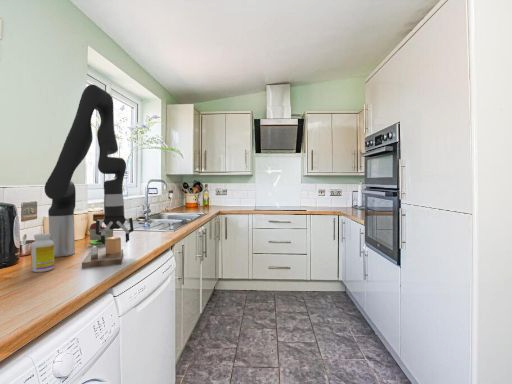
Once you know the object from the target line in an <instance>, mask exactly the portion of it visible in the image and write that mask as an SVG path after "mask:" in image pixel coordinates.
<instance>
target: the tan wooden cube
mask: <svg viewBox="0 0 512 384" xmlns="http://www.w3.org/2000/svg"><path fill="white" fill-rule="evenodd" d="M121 249H122V238H121V236H113V237H109V238H106V241H105V251H106V254H116V253H120V252H121Z"/></svg>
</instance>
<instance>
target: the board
mask: <svg viewBox="0 0 512 384" xmlns="http://www.w3.org/2000/svg"><path fill="white" fill-rule="evenodd" d="M123 257H124V249H123V248H121V252H120V253H116V254H106V250H100V251H99V250H98V259H91V251H89V252H88V253H87V255H86V256H85V257H84V259H83V261H82V262H81V268H82V269H86V268H87V269H88V268H89V269H90V268H98V267H107V266H116V265H122V263H123V262H122V261H123Z"/></svg>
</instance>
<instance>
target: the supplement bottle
mask: <svg viewBox="0 0 512 384" xmlns="http://www.w3.org/2000/svg"><path fill="white" fill-rule="evenodd" d="M33 238H34V241H33V242H32V243H31V245H30V253H31V254H30V257H31V271H32V272H33V273H44V272H47V271H48V272H49V271H51V270H53V269H55V265H56V264H55V257H54V242H53V241H51V240H50V233H49V232H48V233H45V232H44V233H36V234H34V235H33Z"/></svg>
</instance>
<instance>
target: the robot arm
mask: <svg viewBox="0 0 512 384" xmlns="http://www.w3.org/2000/svg"><path fill="white" fill-rule="evenodd" d="M113 99H114V98H113V96H112V94H110V93H109V92H107V91H106V90H105V89H103V88H101V87H99V86H98V85H96V84H88V86H86V87H85V88H84V89H83V92H82V93H81V96H80V100H79V102H78V107H77V111H76V113H75V115H74V116H75V117H74V119H73V122H72V124H71V127H70V129H69V132H68V134H67V136H66V138H65V141H64V143H63V146H62V149H61V151H60V154H59V156H58V159H57V162H56V163H55V166H54V168H53V170H52V172H51V173H50V175H49V177H48V179H47V180H46V182H45V184H44V193H45V196H46V197H48V198H49V199H51V205H50V207H49V208H48V211H47V212H48V213H47V214H48V233H50V240H51V241H53V242H54V258H58V257H67V256H72V255H73V254H75V252H76V246H75V244H76V243H75V240H76V239H75V209H76V197H77V196H76V186H75V183H74V182H73V181H72V178H73V175H74V173H75V171H76V169H77V168H78V166H79V165H80V164H81V163H82V162H83V160H84V159H85V157H86V156H87V155H88V152H89V150H90V147H91V145H92V144H93V130H92V116H93V114H94V111H95V110H96V111H97V112H98V114H99V117H100V123H99V126H98V129H97V133H96V136H97V143H98V144H97V145H98V148H99V156H98V161H97V169H98V171H99V172H100V173H101V174H104V175H114V174H115V175H114V177H113V178H111V179H107V180H105V181H104V182H103V194H104V195H103V196H104V197H103V210H104V211H103V213H104V216H105V218H104V220H99V219H98V220H97V221H95V223H96V234H97V235H100V236H101V243H103V244H102V245H105V246H106V244H105V235H104V234H105V233H106V232H107V230H108V229H113V230H115V229H116V230H120V229H121V230H122V231H124V232H125V243H128V242H129V241H130V233H133V232H134V223H133V222H134V221H133V217H132V216H131V217H128V218H127V217H125V201H124V195H123V194H124V192H123V191H124V190H123V182H124V178H125V175H126V174H125V173H126V170H127V163H126V160H125V159H124V158H123V157H118V156H116V157H115V156H113V157H112V156H109V155H114V154H116V153H118V150H119V147H118V142H117V137H116V133H115V132H116V131H115V121H114V119H115V117H114V116H115V115H114V100H113ZM126 222H127V223H128V224H129V227H130V228H129V229H128V228H127V227H126V226H125V225H124V224H125V223H126ZM102 223H103V224H104V225H105V226H104V227H105V229H104V230H103V231H102V232H100V225H101V226H102V225H103V224H102Z"/></svg>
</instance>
